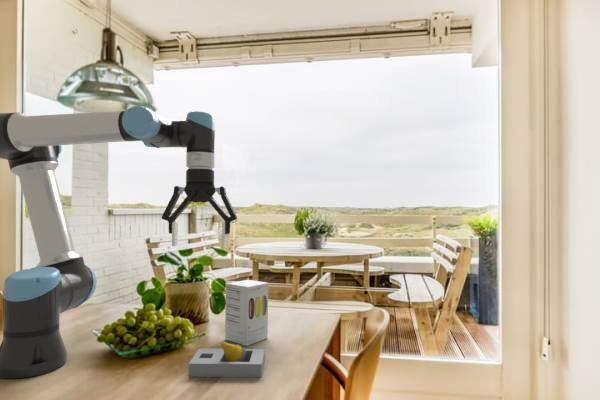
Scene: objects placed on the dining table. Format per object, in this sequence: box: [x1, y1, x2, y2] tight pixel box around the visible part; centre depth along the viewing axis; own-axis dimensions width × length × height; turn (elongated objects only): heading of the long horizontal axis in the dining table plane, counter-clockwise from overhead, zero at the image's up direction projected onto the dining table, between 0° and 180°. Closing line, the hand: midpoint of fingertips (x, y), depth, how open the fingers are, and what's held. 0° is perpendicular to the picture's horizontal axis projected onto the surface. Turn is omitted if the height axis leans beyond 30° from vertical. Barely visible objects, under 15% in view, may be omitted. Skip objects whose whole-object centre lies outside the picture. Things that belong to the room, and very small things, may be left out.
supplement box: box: [224, 279, 269, 347], centre depth 123 cm, size 10×9×17 cm
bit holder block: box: [188, 348, 266, 378], centre depth 101 cm, size 17×10×3 cm, turn 90°
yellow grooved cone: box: [220, 341, 247, 362], centre depth 101 cm, size 5×5×10 cm
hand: (199, 246), depth 113 cm, fingers open, 13 cm apart
